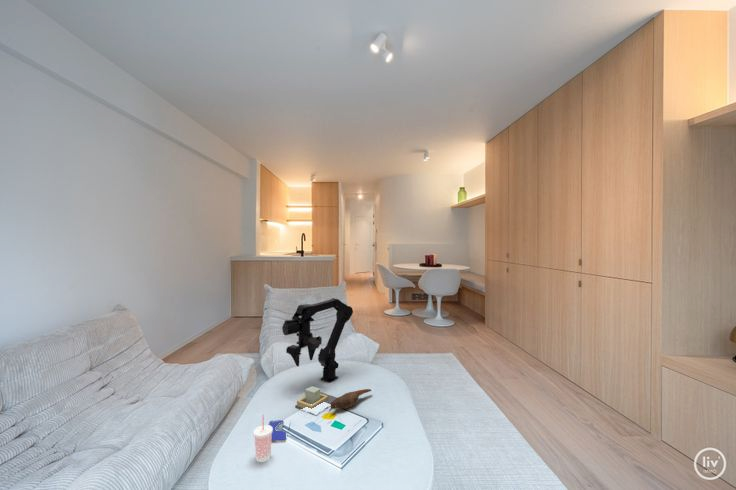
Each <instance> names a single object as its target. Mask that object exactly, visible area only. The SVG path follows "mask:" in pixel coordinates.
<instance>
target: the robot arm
mask: <svg viewBox="0 0 736 490" xmlns="http://www.w3.org/2000/svg"><path fill="white" fill-rule="evenodd" d="M329 309H334V310H336V314H335V316H336V318H335V319H336V320H335V322H334V325H333V329H332V331H331V333H330V337H329V338H328V341H327V344H326V346H325V347H324V348H322V347H321V348H320V351H319V353H318V354H317V356H318V357H317V360H318V362H319V363H320V366H322V367H323V369H322V377H321V378H320V380H321V381H324V382H328V383H332V382H333V381H335V380H338V378H339V376H337V375H336V373H337V372H336V369H338V368H339V362H337V361H336V348H337V345H338V343H339V340H340V338H341V335H342V333H343V330H344V327H345V325H346V323H347V322H348V321H349V320H350V319H351V317H352V316H353V314H354V310H353V308H352V306H350V305H347V304H346V303H344V302H343V301H341V300H340V299H338V298H336V297H335V298H334V297H333V298H331V299H327V300H323V301H320V302H319V301H318V302H316V303H312V304H311V303H309V304H300V305H297V307H296V311H295V312H294V314H293V315H292V317H291V319H285V320H284V323H283V324H282V328H281V330H282V333H283V335H284V336H289V335H293V334H296V336H297V337H298V339H297V340H298V341H296V345H295V344H292V345H289V346H287V347H286V350H285V351H286V352H285V353H286V354H288V355H290V356H291V358H292V360H293V361H294V364H295V366H296V367H299V366H300V356H301V355H302V353H301V351H302V349H304V348H307V351H308V356H309V361H313V359H314V356H315V352H316V350H317V349H319V347H320V345H322V342H323V341H322V339H323V338H322V337H321V336H320V335H319V336H315V337H314V336H313V333H312V332H311V322H315V319H314V318H313V316H315V315H316V314H317V313H319V312H322V311H325V310H329Z"/></svg>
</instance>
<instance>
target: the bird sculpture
mask: <svg viewBox="0 0 736 490" xmlns="http://www.w3.org/2000/svg"><path fill="white" fill-rule="evenodd" d="M369 392H372V388H371V389H370V388H365V389H358V390H353V391H349V392H346V393H344V394H342V395H340V396H337V398H336V399H335V400H334V401H332V402H331V406H330V409H329V410H328V413H330V412H331V411H332V410H336V409H340V410H342V409H349V408H351V407H352V406H354V405H355V404H356V403H357V402H358V401H359V397H361V396H362V395H364V394H367V393H369Z"/></svg>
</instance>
